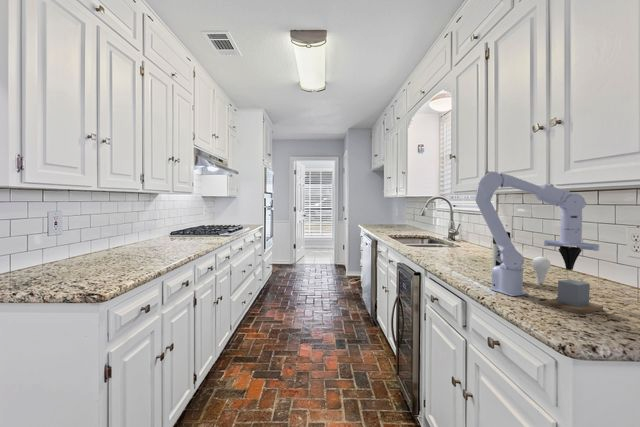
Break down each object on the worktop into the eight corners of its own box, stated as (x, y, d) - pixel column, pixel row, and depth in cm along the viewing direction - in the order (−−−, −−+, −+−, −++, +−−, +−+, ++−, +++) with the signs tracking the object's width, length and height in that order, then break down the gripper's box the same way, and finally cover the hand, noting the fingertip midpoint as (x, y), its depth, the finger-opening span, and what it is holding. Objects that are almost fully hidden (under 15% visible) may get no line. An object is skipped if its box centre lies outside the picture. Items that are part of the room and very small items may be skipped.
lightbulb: (532, 281, 130) (533, 254, 129) (550, 283, 126) (551, 256, 125) (530, 284, 125) (531, 256, 125) (549, 287, 121) (550, 258, 121)
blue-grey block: (557, 301, 100) (558, 280, 100) (568, 299, 102) (569, 279, 102) (577, 306, 95) (577, 285, 94) (588, 304, 97) (589, 283, 96)
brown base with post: (544, 304, 101) (545, 285, 101) (566, 300, 105) (567, 282, 105) (580, 314, 92) (580, 294, 92) (602, 309, 96) (603, 290, 96)
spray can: (493, 280, 132) (495, 232, 131) (490, 276, 138) (491, 230, 137) (512, 281, 130) (513, 232, 129) (507, 277, 136) (508, 231, 136)
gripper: (541, 228, 109) (540, 267, 110) (595, 231, 98) (593, 275, 98) (548, 227, 114) (547, 264, 114) (601, 230, 102) (600, 272, 102)
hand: (569, 269), depth 106 cm, fingers closed
